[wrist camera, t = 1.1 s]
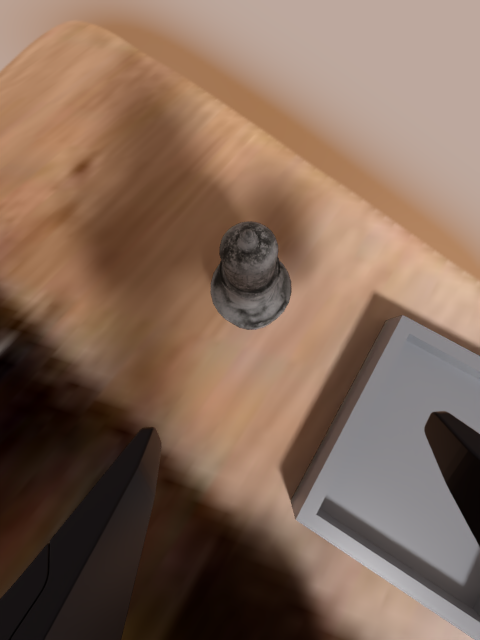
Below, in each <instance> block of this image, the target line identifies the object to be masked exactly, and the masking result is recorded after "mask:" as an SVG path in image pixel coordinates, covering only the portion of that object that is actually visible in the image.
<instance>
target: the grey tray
mask: <svg viewBox="0 0 480 640" xmlns="http://www.w3.org/2000/svg"><path fill="white" fill-rule="evenodd" d="M435 411H446V412H449V413H450V414H452V415H453V416H455V417H456V418H458V419H459V420H461V421H462V422H463V423H465V424H466V425H468V426H469V427H471V428H472V429H474V430H475V431H476V432H478V433H479V434H480V356H479V355H477V354H475V353H473V352H471V351H469V350H468V349H466V348H464V347H462V346H460V345H458V344H456V343H454V342H453V341H451V340H449V339H447V338H445V337H443V336H441V335H439V334H437V333H436V332H434V331H432V330H430V329H428V328H426V327H424V326H422V325H421V324H419V323H417V322H415V321H413V320H411V319H409V318H407V317H406V316H404V315H401V316H398V317H395V318H392V319H389V320H386V322H385V324H384V326H383V328H382V330H381V331H380V333H379V335H378V337H377V339H376V341H375V343H374V345H373V346H372V348H371V350H370V352H369V354H368V356H367V358H366V360H365V362H364V363H363V365H362V367H361V369H360V371H359V373H358V375H357V377H356V379H355V380H354V382H353V384H352V386H351V388H350V390H349V392H348V394H347V396H346V397H345V399H344V401H343V403H342V405H341V407H340V409H339V411H338V412H337V414H336V416H335V418H334V420H333V422H332V424H331V426H330V428H329V429H328V431H327V433H326V435H325V437H324V439H323V441H322V443H321V445H320V446H319V448H318V450H317V452H316V454H315V456H314V458H313V460H312V462H311V463H310V465H309V467H308V469H307V471H306V473H305V475H304V477H303V478H302V480H301V482H300V484H299V486H298V488H297V490H296V492H295V494H294V495H293V497H292V499H291V504H292V508H293V512H294V516H295V519H296V520H297V521H298V522H300V523H301V524H303V525H304V526H306V527H307V528H309V529H310V530H312V531H313V532H315V533H316V534H318V535H319V536H321V537H322V538H324V539H325V540H327V541H328V542H330V543H331V544H333V545H334V546H336V547H337V548H339V549H340V550H342V551H343V552H345V553H346V554H348V555H349V556H351V557H352V558H354V559H355V560H357V561H358V562H360V563H361V564H363V565H364V566H365V567H367V568H368V569H370V570H371V571H373V572H374V573H376V574H377V575H379V576H380V577H382V578H383V579H385V580H386V581H388V582H389V583H391V584H392V585H394V586H395V587H397V588H398V589H400V590H401V591H403V592H404V593H406V594H407V595H409V596H410V597H412V598H413V599H415V600H416V601H418V602H419V603H421V604H422V605H424V606H425V607H427V608H428V609H430V610H431V611H433V612H434V613H436V614H437V615H439V616H440V617H442V618H443V619H445V620H446V621H448V622H449V623H451V624H452V625H454V626H455V627H457V628H458V629H460V630H461V631H463V632H464V633H465V634H467V635H468V636H470V637H471V638H473V639H474V640H480V547H479V545H478V543H477V541H476V539H475V537H474V536H473V534H472V532H471V530H470V528H469V526H468V524H467V522H466V521H465V519H464V517H463V515H462V513H461V511H460V509H459V507H458V506H457V504H456V502H455V500H454V498H453V496H452V494H451V493H450V491H449V489H448V487H447V485H446V483H445V480H444V478H443V476H442V474H441V471H440V469H439V466H438V464H437V462H436V459H435V457H434V454H433V452H432V450H431V447H430V445H429V442H428V440H427V438H426V435H425V432H424V427H425V424H426V422H427V420H428V418H429V416H430V414H431V413H432V412H435Z"/></svg>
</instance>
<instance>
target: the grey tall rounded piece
mask: <svg viewBox="0 0 480 640" xmlns="http://www.w3.org/2000/svg"><path fill="white" fill-rule="evenodd" d="M220 258H221V262H220V264H219V265H218V267H217V269H216V270H215V272H214V274H213V278H212V281H211V296H212V300H213V304H214V305H215V307H216V309H217V311H218V312H219V313H220V314H221V315H222V316H223V317H224V318H225V319H226V320H227V321H229V322H231V323H232V324H234V325H236V326H238V327H239V328H243V329H247V330H256V329H259V328H263V327H265V326H267V325H268V324H270V323H271V322H272V321H274V320H276V319H277V318H278V317H279V316H280V315H281V314H282V313H283V312H284V310H285V308H286V306H287V305H288V303H289V300H290V296H291V280H290V277H289V274H288V271H287V270H286V268H285V267H284V265H283V264H282V263H281V262H280V261H279V258H278V244H277V241H276V238H275V236H274V234H273V233H272V231H271V230H270V229H269V228H267V227H266V226H264V225H262V224H260V223H257V222H242V223H239V224H236V225H235V226H233V227H231V228H230V229H229V230H228V231H227V232H226V233H225V235H224V236H223V238H222V241H221V244H220Z"/></svg>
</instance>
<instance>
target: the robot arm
mask: <svg viewBox="0 0 480 640" xmlns="http://www.w3.org/2000/svg"><path fill="white" fill-rule="evenodd" d="M424 432H425V435H426V438H427V440H428V442H429V445H430V447H431V450H432V452H433V454H434V457H435V459H436V462H437V464H438V466H439V469H440V471H441V474H442V476H443V478H444V480H445V483H446V485H447V487H448V489H449V491H450V493H451V494H452V496H453V498H454V500H455V502H456V504H457V506H458V507H459V509H460V511H461V513H462V515H463V517H464V519H465V521H466V522H467V524H468V526H469V528H470V530H471V532H472V534H473V536H474V537H475V539H476V541H477V543H478V545H479V547H480V434H479V433H478V432H476V431H475V430H474V429H472V428H471V427H469V426H468V425H466V424H465V423H463V422H462V421H461V420H459V419H458V418H456V417H455V416H453V415H452V414H450V413H449V412H446V411H435V412H432V413H431V414H430V416H429V418H428V420H427V422H426V424H425V427H424ZM160 453H161V440H160V438H159V435H158V433H157V430H156V428H154V427H144V428H142V429H141V430H140V431H139V432H138V433H137V435H136V436H135V437H134V438H133V439H132V441H131V442H130V443H129V444H128V446H127V447H126V448H125V449H124V451H123V452H122V453H121V454H120V455H119V457H118V458H117V459H116V460H115V462H114V463H113V464H112V465H111V466H110V468H109V469H108V470H107V471H106V473H105V474H104V475H103V476H102V477H101V479H100V480H99V481H98V482H97V484H96V485H95V486H94V487H93V489H92V490H91V491H90V492H89V493H88V495H87V496H86V497H85V498H84V500H83V501H82V502H81V503H80V504H79V506H78V507H77V508H76V509H75V511H74V512H73V513H72V514H71V515H70V517H69V518H68V519H67V520H66V522H65V523H64V524H63V525H62V527H61V528H60V529H59V530H58V531H57V533H56V534H55V535H54V536H53V538H52V539H51V540H50V543H48V544H47V545H46V546H45V547H44V548H43V550H42V551H41V552H40V553H39V555H38V556H37V557H36V558H35V559H34V561H33V562H32V563H31V564H30V565H29V567H28V568H27V569H26V570H25V571H24V572H23V574H22V575H21V576H20V577H19V578H18V580H17V581H16V582H15V583H14V584H13V585H12V586H11V588H10V589H9V590H8V591H7V592H6V593H5V594H4V595H3V597H2V598H1V599H0V640H121V637H122V633H123V629H124V625H125V621H126V616H127V612H128V608H129V604H130V599H131V595H132V591H133V587H134V582H135V578H136V574H137V570H138V566H139V561H140V557H141V553H142V549H143V544H144V540H145V536H146V532H147V527H148V523H149V519H150V515H151V511H152V506H153V502H154V497H155V491H156V484H157V476H158V469H159V461H160Z"/></svg>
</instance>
